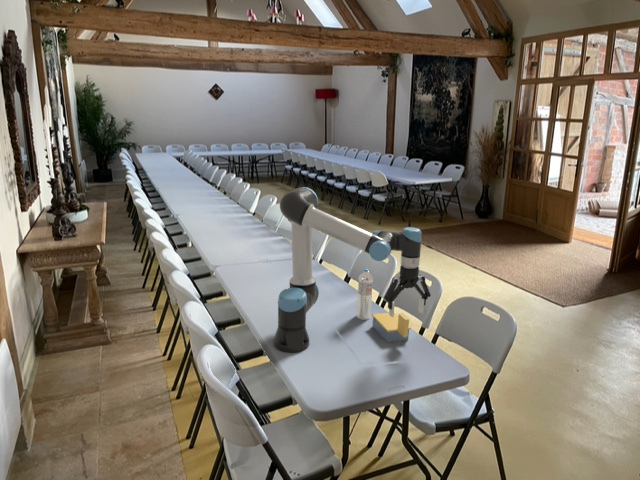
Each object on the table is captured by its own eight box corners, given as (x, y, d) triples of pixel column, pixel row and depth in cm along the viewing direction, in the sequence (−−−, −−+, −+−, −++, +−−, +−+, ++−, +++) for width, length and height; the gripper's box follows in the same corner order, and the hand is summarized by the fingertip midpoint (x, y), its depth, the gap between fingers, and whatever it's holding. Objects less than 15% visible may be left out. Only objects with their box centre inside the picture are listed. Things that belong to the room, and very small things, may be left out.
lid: (393, 338, 196) (395, 320, 194) (372, 315, 217) (373, 299, 215) (417, 335, 199) (418, 318, 197) (393, 313, 220) (394, 297, 218)
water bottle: (359, 321, 224) (362, 272, 218) (354, 315, 231) (357, 267, 224) (372, 320, 226) (375, 271, 220) (367, 314, 233) (370, 266, 226)
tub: (387, 344, 204) (388, 331, 202) (372, 328, 218) (373, 316, 217) (408, 341, 207) (409, 329, 205) (391, 325, 221) (392, 314, 220)
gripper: (385, 271, 184) (382, 321, 190) (441, 266, 191) (437, 314, 197) (377, 265, 191) (375, 313, 197) (432, 260, 198) (428, 307, 204)
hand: (406, 314), depth 197 cm, fingers open, 13 cm apart
